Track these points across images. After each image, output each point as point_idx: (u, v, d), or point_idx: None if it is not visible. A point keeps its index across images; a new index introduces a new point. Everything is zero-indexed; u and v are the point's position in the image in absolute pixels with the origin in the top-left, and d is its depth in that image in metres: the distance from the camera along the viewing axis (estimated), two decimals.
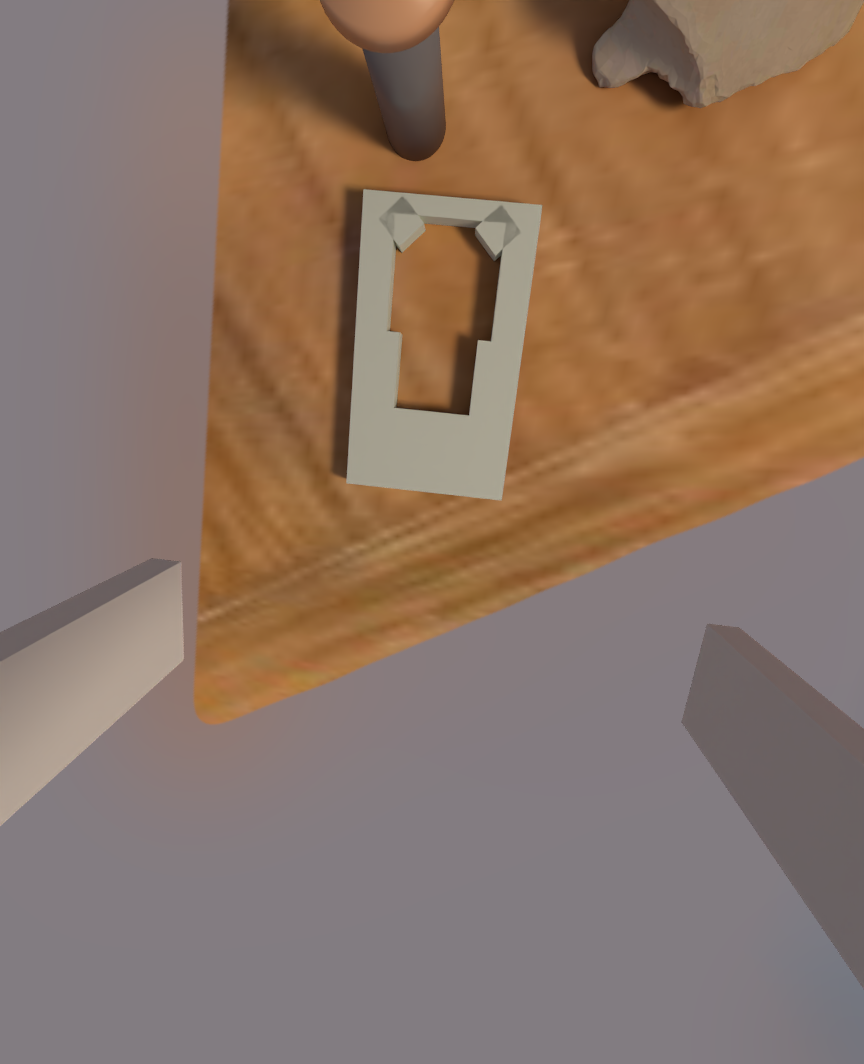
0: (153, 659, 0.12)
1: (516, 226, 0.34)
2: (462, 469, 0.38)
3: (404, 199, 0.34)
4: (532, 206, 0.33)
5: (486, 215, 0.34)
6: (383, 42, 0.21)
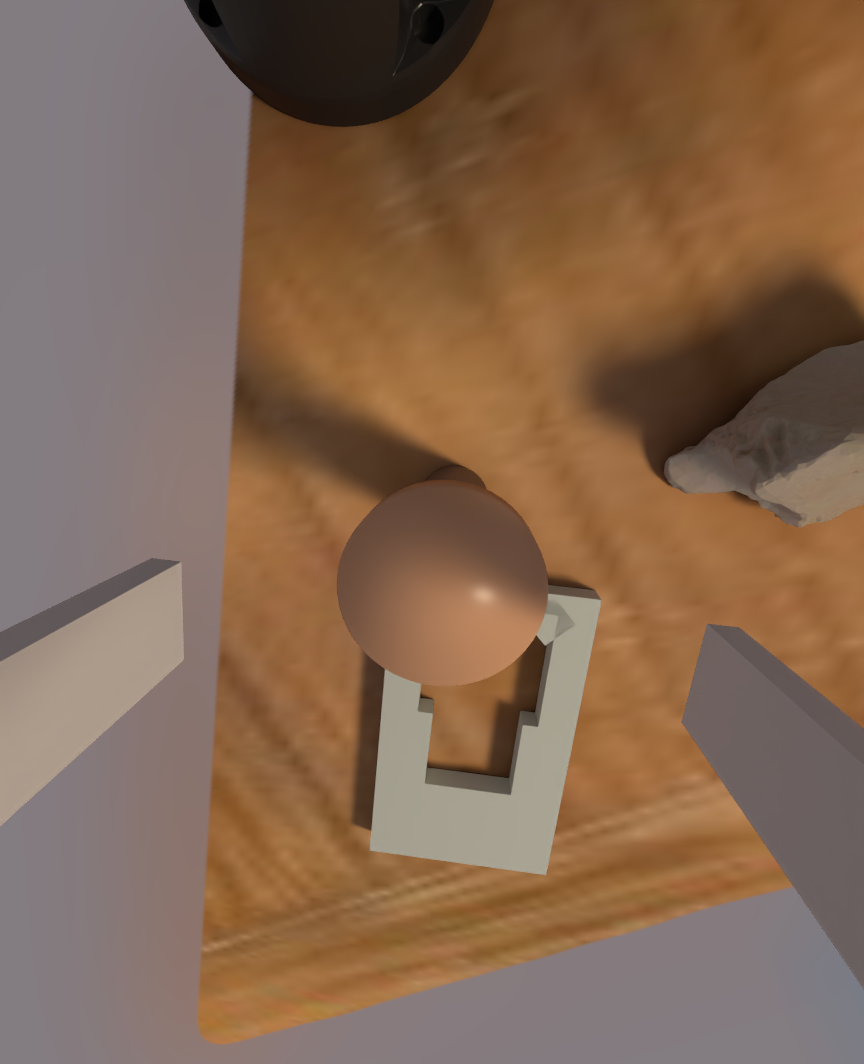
0: (153, 659, 0.12)
1: (570, 619, 0.29)
2: (502, 844, 0.33)
3: None
4: (589, 601, 0.29)
5: None
6: None
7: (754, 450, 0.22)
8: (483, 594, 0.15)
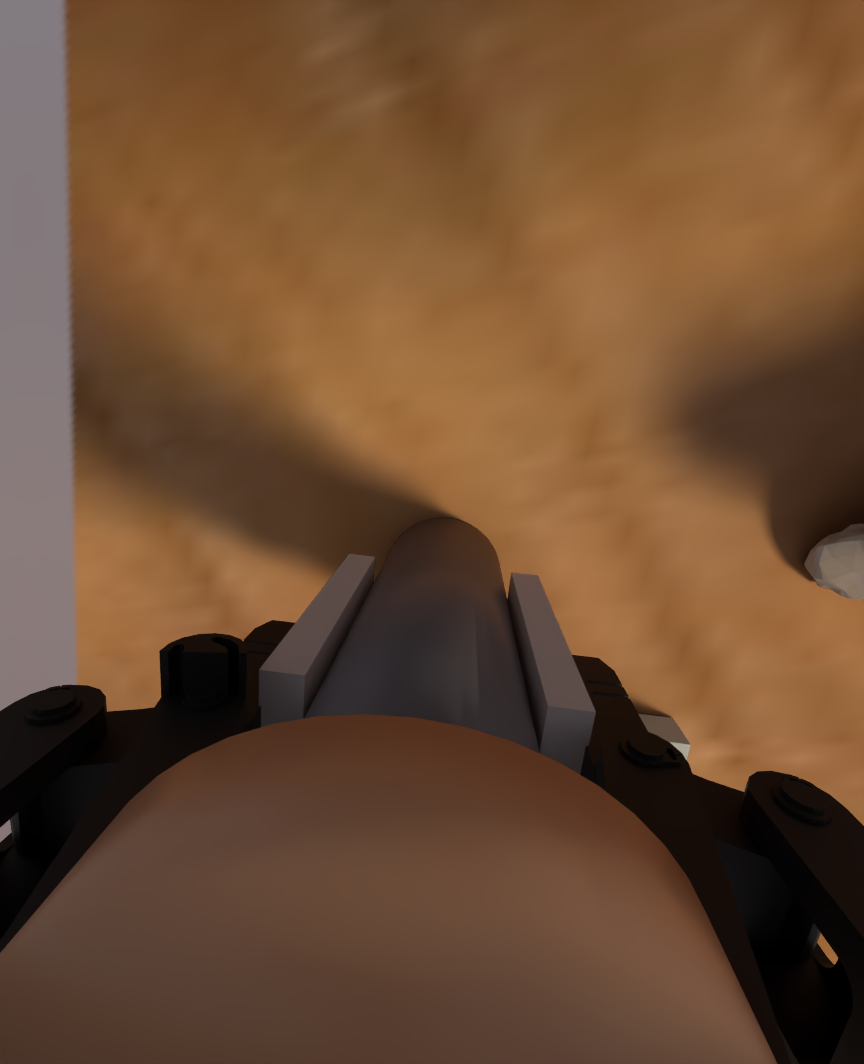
0: None
1: None
2: None
3: None
4: None
5: None
6: None
7: None
8: None
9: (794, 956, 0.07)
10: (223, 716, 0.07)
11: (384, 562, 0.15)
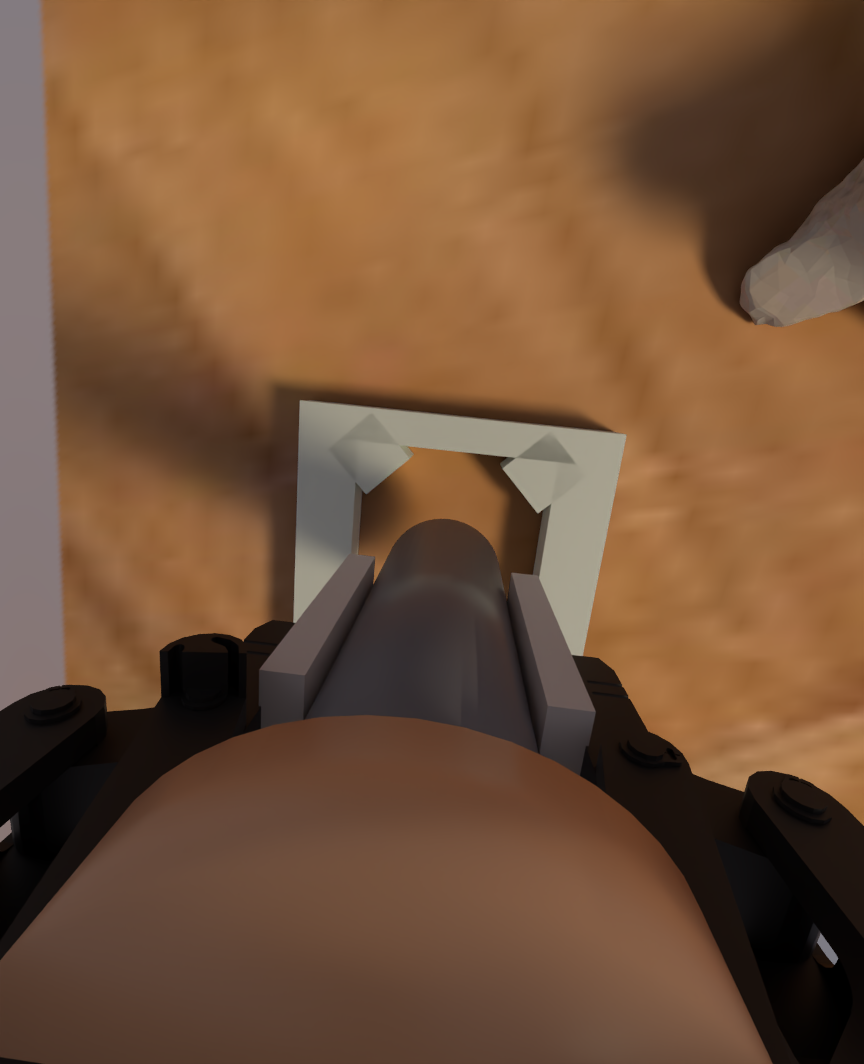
0: None
1: (577, 468, 0.18)
2: None
3: (374, 418, 0.19)
4: (608, 436, 0.18)
5: (523, 448, 0.18)
6: None
7: None
8: None
9: (795, 956, 0.07)
10: (223, 716, 0.07)
11: (384, 563, 0.16)
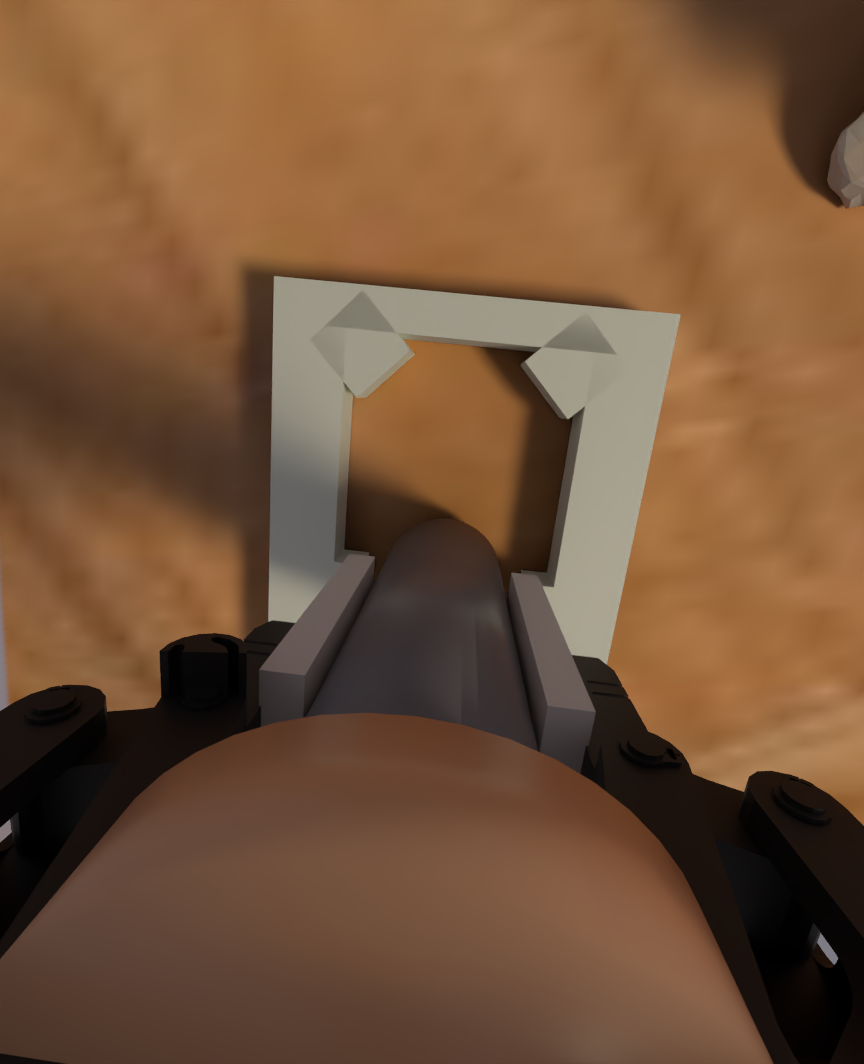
0: None
1: (617, 360, 0.15)
2: None
3: (366, 298, 0.15)
4: (657, 317, 0.15)
5: (550, 335, 0.15)
6: None
7: None
8: None
9: (795, 956, 0.07)
10: (223, 716, 0.07)
11: (384, 563, 0.16)
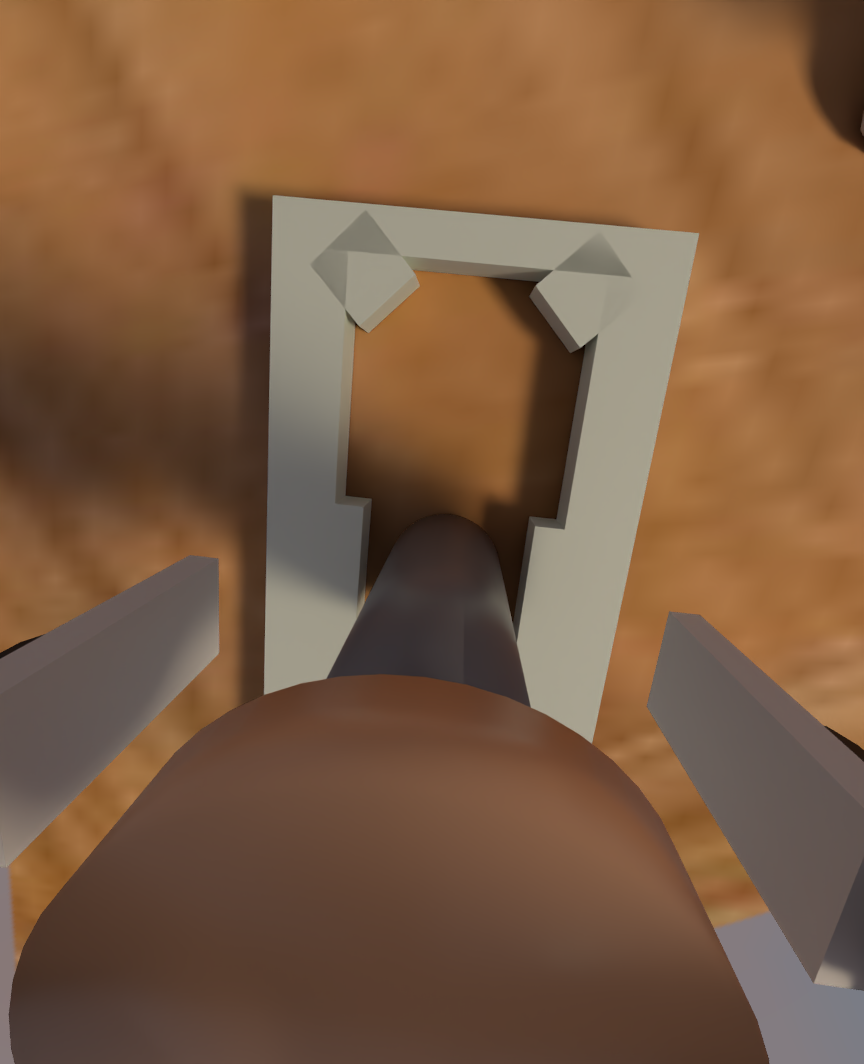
0: (193, 652, 0.12)
1: (632, 283, 0.14)
2: None
3: (369, 219, 0.14)
4: (675, 236, 0.14)
5: (563, 257, 0.14)
6: None
7: None
8: None
9: None
10: None
11: (388, 556, 0.16)
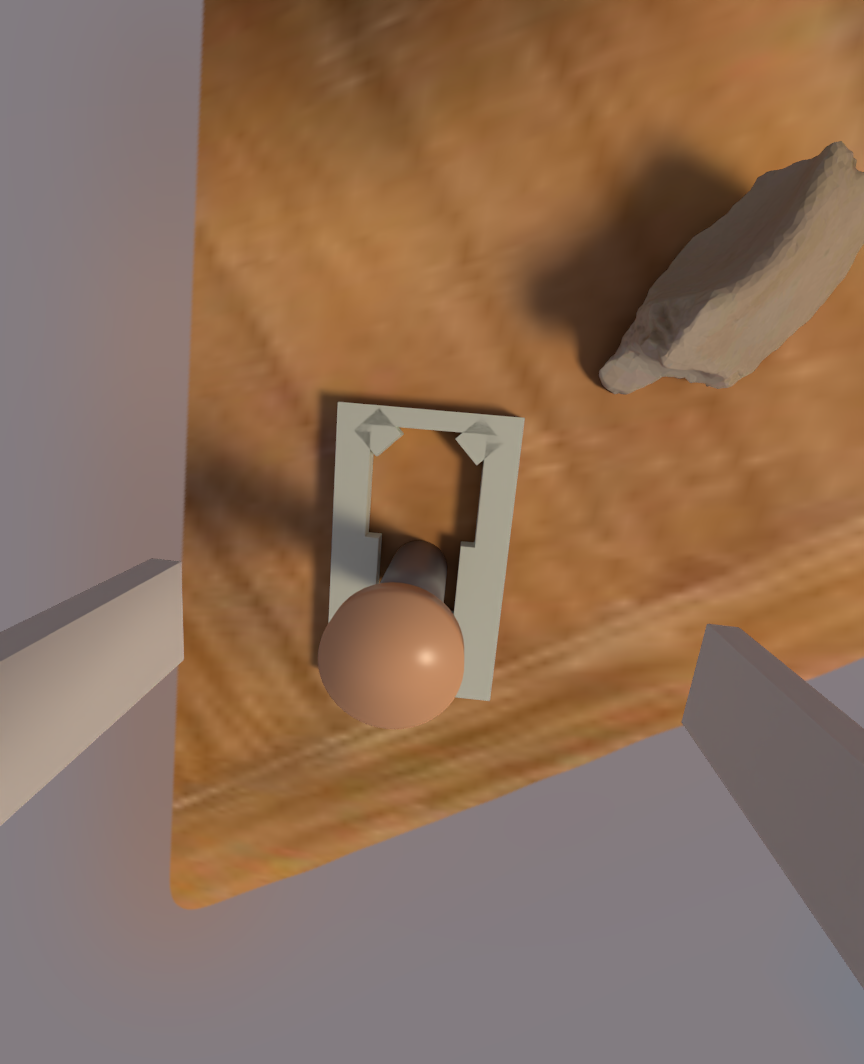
0: (153, 659, 0.12)
1: (498, 438, 0.32)
2: None
3: (380, 411, 0.32)
4: (514, 419, 0.32)
5: (466, 427, 0.32)
6: None
7: (651, 333, 0.26)
8: (419, 664, 0.22)
9: None
10: None
11: None
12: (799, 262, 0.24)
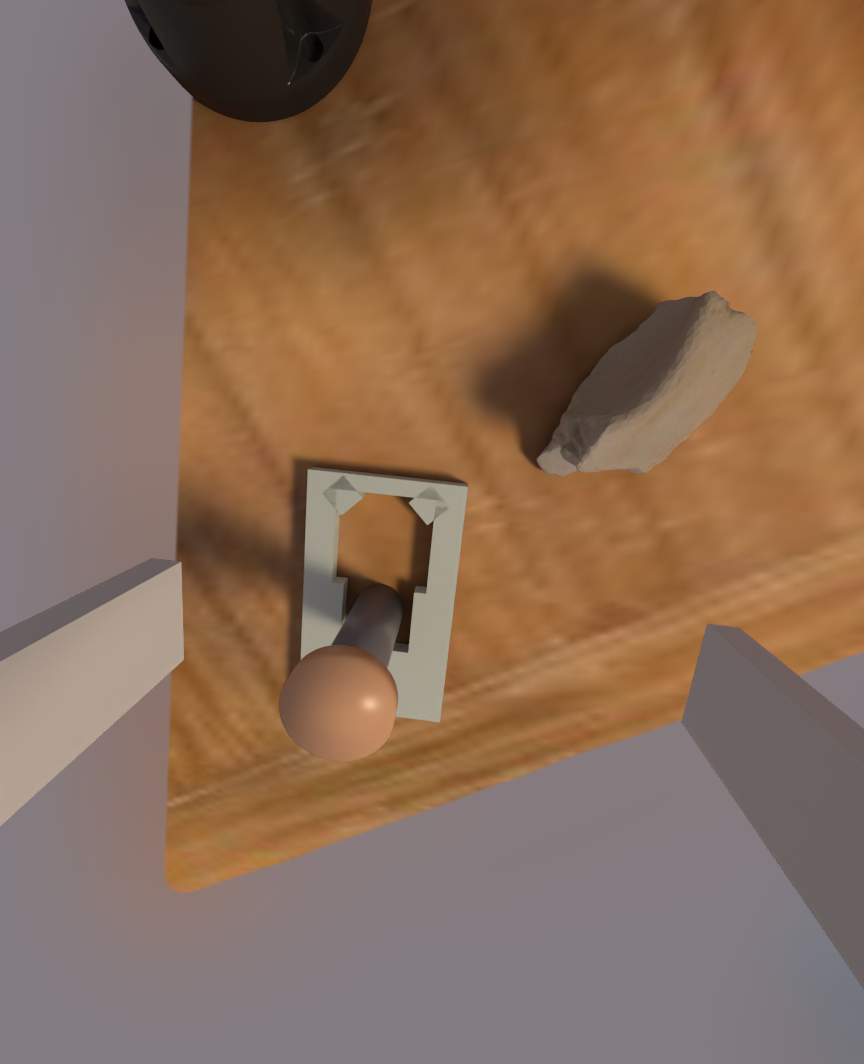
0: (153, 659, 0.12)
1: (445, 503, 0.37)
2: (403, 696, 0.42)
3: (344, 478, 0.37)
4: (459, 487, 0.37)
5: (418, 493, 0.37)
6: None
7: (568, 444, 0.31)
8: (359, 712, 0.27)
9: None
10: None
11: None
12: (685, 388, 0.29)
